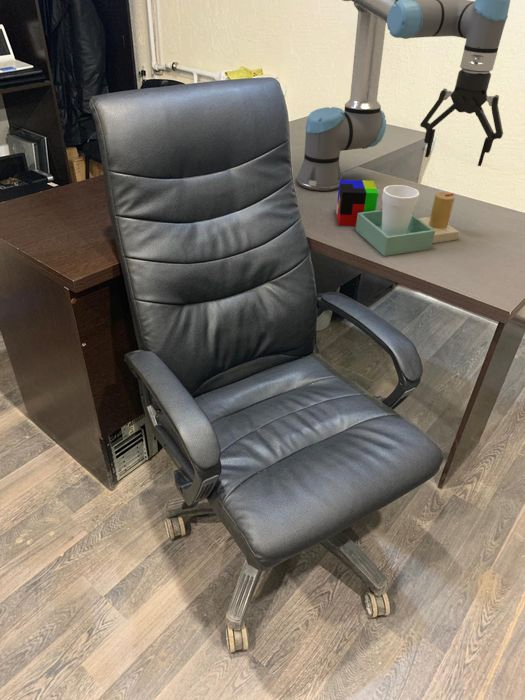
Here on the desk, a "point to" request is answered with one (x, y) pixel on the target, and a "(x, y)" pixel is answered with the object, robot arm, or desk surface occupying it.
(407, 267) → the desk surface
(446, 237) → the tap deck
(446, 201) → the tap handle
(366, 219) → the basin
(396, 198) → the foam cup
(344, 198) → the puzzle toy
